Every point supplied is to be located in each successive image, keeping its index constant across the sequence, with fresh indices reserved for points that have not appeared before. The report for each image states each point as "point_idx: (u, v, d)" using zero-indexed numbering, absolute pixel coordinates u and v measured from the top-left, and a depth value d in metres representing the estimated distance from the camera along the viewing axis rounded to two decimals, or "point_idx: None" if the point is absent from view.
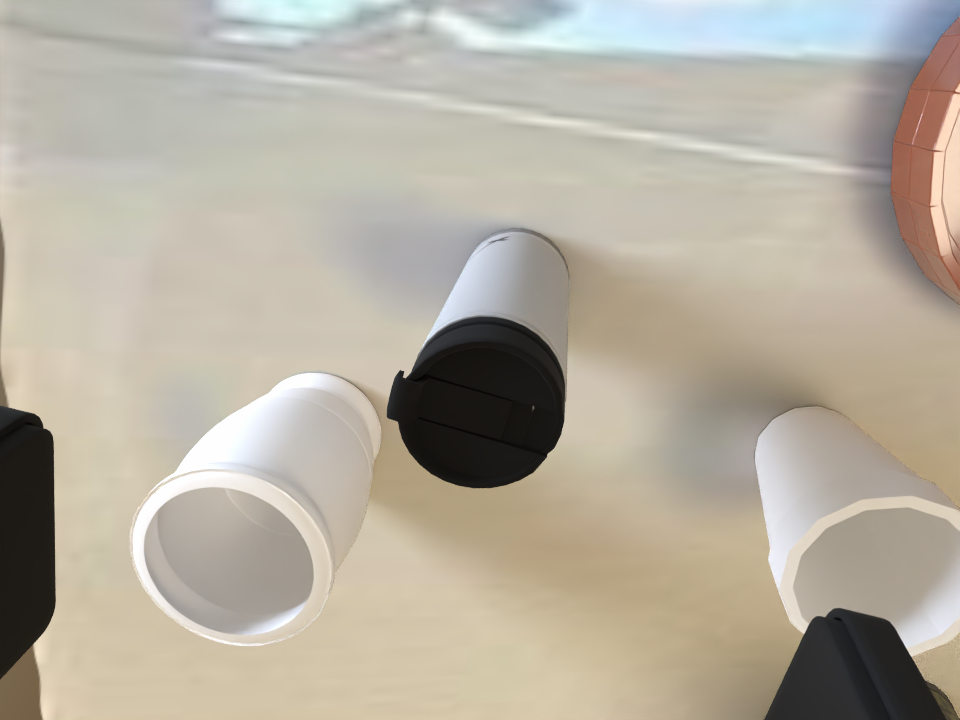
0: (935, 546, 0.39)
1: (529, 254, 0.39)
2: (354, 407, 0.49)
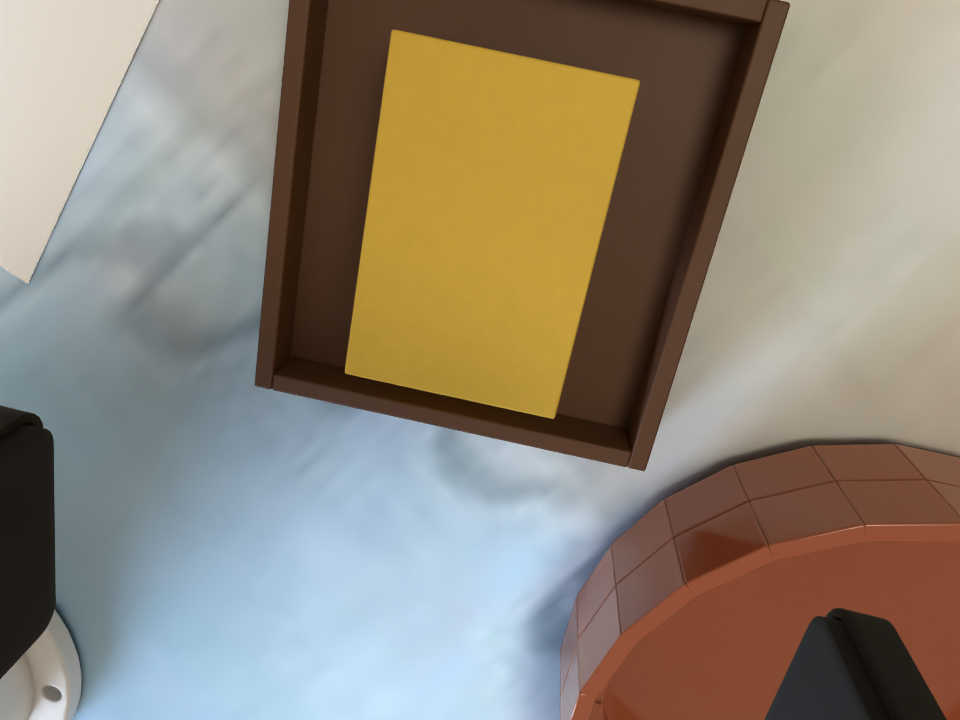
0: None
1: None
2: None
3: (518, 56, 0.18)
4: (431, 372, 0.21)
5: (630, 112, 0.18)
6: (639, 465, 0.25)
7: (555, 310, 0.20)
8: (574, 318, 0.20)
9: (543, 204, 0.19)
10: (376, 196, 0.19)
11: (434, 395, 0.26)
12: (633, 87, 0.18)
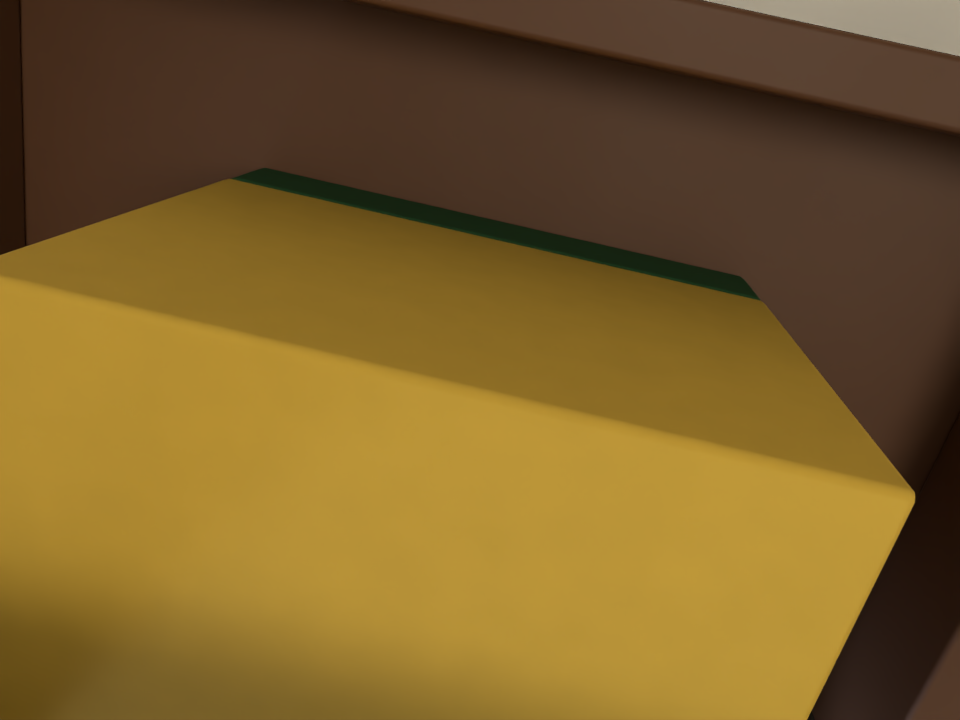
0: None
1: None
2: None
3: (440, 384, 0.05)
4: None
5: (864, 589, 0.05)
6: None
7: None
8: None
9: None
10: None
11: None
12: (888, 513, 0.05)
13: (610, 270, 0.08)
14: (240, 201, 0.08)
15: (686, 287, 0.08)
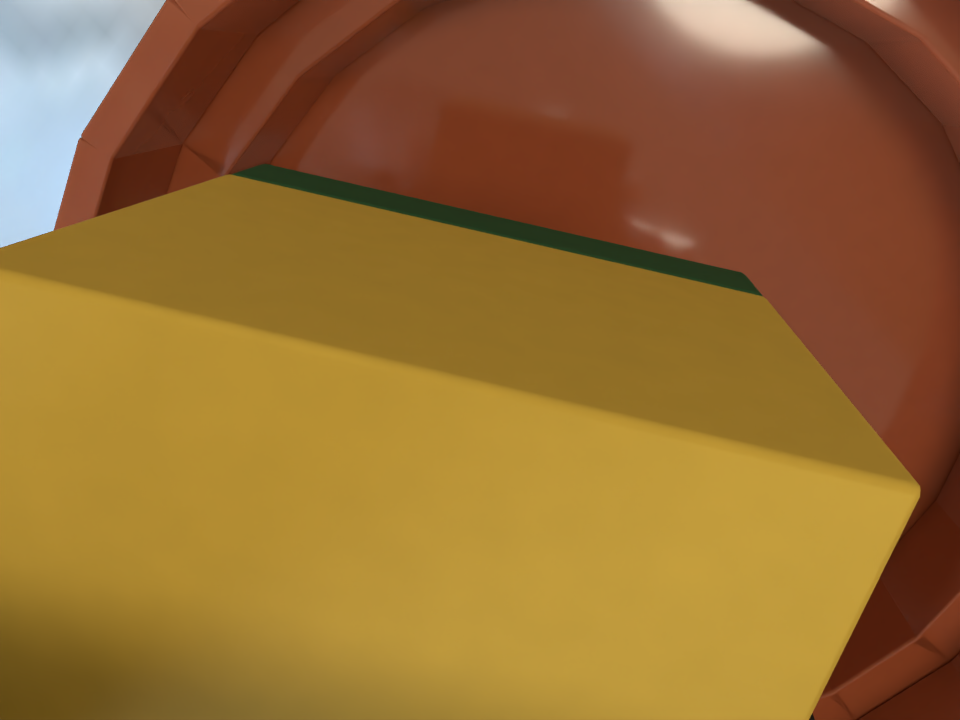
0: None
1: None
2: None
3: (442, 377, 0.05)
4: None
5: (869, 584, 0.05)
6: None
7: None
8: None
9: None
10: None
11: None
12: (893, 507, 0.05)
13: (612, 265, 0.08)
14: (240, 196, 0.07)
15: (688, 282, 0.08)
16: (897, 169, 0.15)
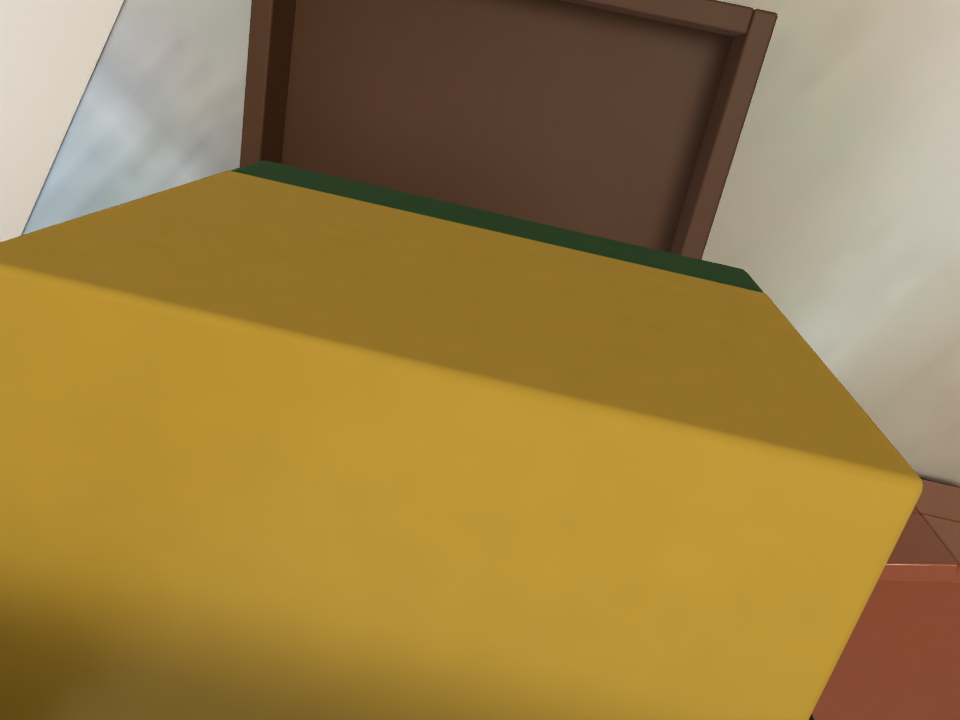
0: None
1: None
2: None
3: (443, 372, 0.05)
4: None
5: (871, 579, 0.05)
6: None
7: None
8: None
9: None
10: None
11: None
12: (895, 501, 0.05)
13: (612, 262, 0.08)
14: (240, 192, 0.07)
15: (689, 279, 0.08)
16: None
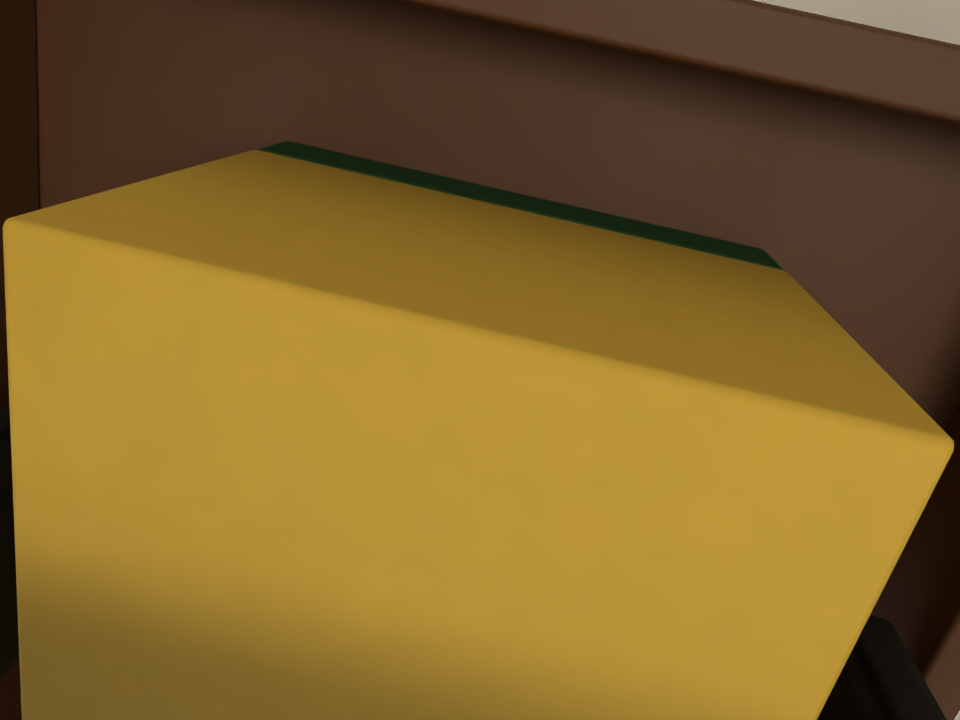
0: None
1: None
2: None
3: (481, 333, 0.05)
4: None
5: (901, 539, 0.05)
6: None
7: None
8: None
9: None
10: (41, 697, 0.06)
11: None
12: (926, 461, 0.05)
13: (635, 240, 0.08)
14: (268, 169, 0.08)
15: (711, 256, 0.08)
16: None
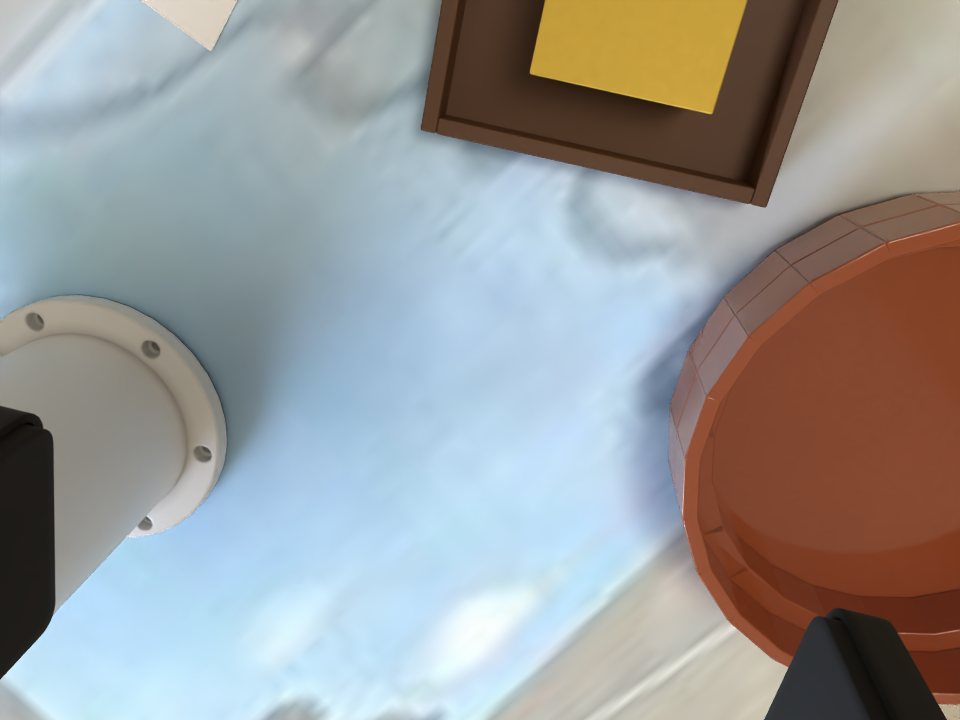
0: None
1: None
2: None
3: None
4: (607, 69, 0.24)
5: None
6: (761, 201, 0.28)
7: (722, 5, 0.23)
8: (738, 13, 0.23)
9: None
10: None
11: (576, 145, 0.29)
12: None
13: None
14: None
15: None
16: None
